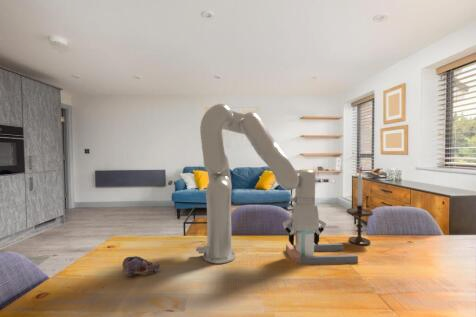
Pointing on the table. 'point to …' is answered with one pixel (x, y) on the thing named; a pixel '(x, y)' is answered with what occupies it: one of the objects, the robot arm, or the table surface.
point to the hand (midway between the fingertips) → (303, 243)
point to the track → (321, 259)
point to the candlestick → (359, 216)
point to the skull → (138, 266)
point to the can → (305, 243)
